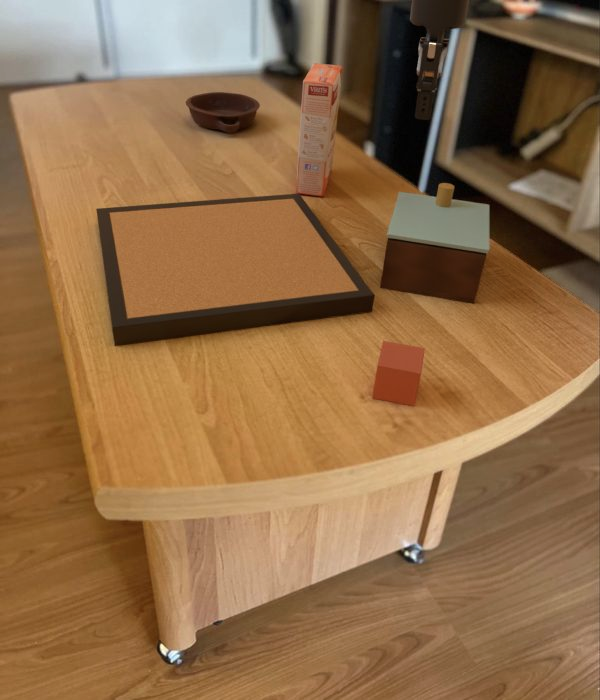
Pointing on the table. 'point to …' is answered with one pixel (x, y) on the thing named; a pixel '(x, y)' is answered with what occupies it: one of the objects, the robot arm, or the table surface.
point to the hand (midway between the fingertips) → (424, 110)
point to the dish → (223, 110)
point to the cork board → (222, 267)
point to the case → (432, 270)
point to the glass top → (441, 220)
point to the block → (398, 373)
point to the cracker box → (318, 128)
